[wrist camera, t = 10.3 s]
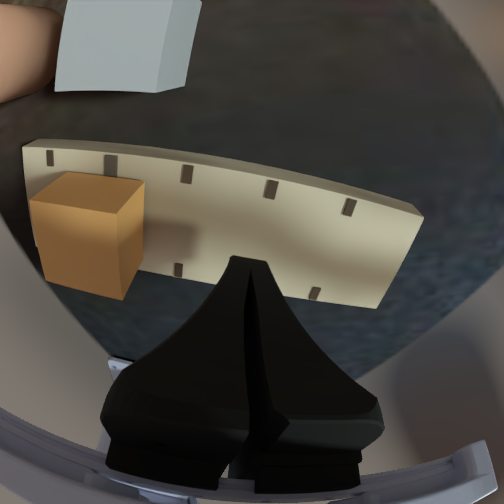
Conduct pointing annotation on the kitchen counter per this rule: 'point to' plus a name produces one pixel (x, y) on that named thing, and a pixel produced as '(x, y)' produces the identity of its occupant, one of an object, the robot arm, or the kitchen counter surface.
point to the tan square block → (90, 232)
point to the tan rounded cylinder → (27, 49)
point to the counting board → (246, 218)
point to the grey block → (126, 45)
